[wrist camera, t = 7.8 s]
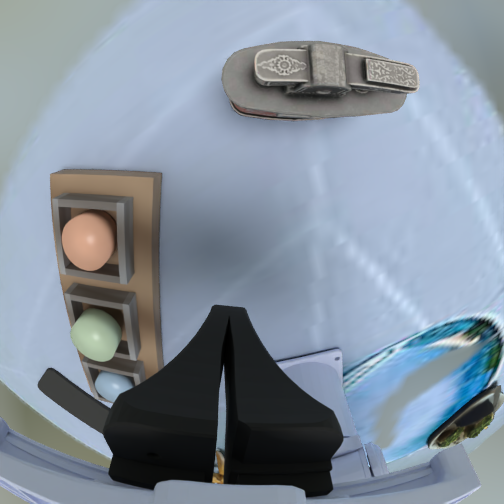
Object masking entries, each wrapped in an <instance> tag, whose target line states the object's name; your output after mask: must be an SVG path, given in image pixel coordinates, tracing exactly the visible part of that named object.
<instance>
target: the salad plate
mask: <svg viewBox="0 0 504 504" xmlns="http://www.w3.org/2000/svg"><path fill="white" fill-rule="evenodd" d="M500 392H501V385H500V386H497V387H495V388H493V389H490V390H486V391H484V392H482V393H480V394H479V395H477V396H476V397H474V398H473V399H471V400H470V401H469V402H468V403H466V404H465V405H464V406H463V407H462V408H461V409H459V410H458V411H457V412H456V413H455V414H454V415H453V416H451V417H450V418H449V419H448V420H447V421H446V422H444V423H443V424H442V425H441V426H440V427H439V428H438V429H437V430H436V431H435V432H434V433H433V434H432V435H431V437H430V439H429V441H428V448H429V449H440V448H450V447H453V446H455V445H457V444H459V443H460V442H462V441H464V440H465V439H466V438H475V437H476V436H478V434H480V432H481V431H482V430H483V429H487V428H488V427H487V426H488V425H490V423H491V422H492V421H493V419H494V415H495V412H496V411H497V410H498V409H499V408H500V407H501V405H502V404H503V402H504V394H503V393H500Z"/></svg>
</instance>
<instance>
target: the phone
mask: <svg viewBox="0 0 504 504" xmlns="http://www.w3.org/2000/svg"><path fill="white" fill-rule="evenodd" d="M38 388H39V389H40V390H41V391H42V392H43V393H44V394H45V395H46V396H48V397H49V398H50V399H52V400H53V401H54V402H56V403H57V404H58V405H60V406H61V407H62V408H64V409H65V410H67V411H68V412H69V413H71V414H72V415H74V416H75V417H77V418H78V419H80V420H81V421H83V422H84V423H86V424H87V425H89V426H90V427H92V428H94V429H95V430H97V431H98V432H100V433H102V434H103V432H102V431H103V428H104V425H105V422H106V419H107V416H108V413H109V411H110V408H109V407H107V406H105V405H104V404H102V403H101V402H99V401H98V400H96V399H95V398H93V397H92V396H91V395H89V394H88V393H86V392H85V391H83V390H82V389H81V388H79V387H78V386H76V385H75V384H74V383H72V382H71V381H70V380H68V379H67V378H66V377H64V376H63V375H62V374H61V373H59V372H58V371H57V370H55V369H53V368H48V369H47V371H46V372H45V373H44V375H43V376H42V378H41V380H40V381H39V383H38Z"/></svg>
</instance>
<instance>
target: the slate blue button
mask: <svg viewBox="0 0 504 504" xmlns="http://www.w3.org/2000/svg"><path fill="white" fill-rule="evenodd" d="M134 386H136V385H135V381H134V377H131V376H126V375H121V374H117V373H112V372H108V371H104V370H101V371H100V373H99V375H98V377H97V379H96V382H95V388H96V390H97V391H98V393H99V394H100V395H101V396H103V397H104V398H105V399H107V400H109V401H111V402H115V400H116V399H117V397H118V395H119V394H120V393H123V392H125V391H127V390H129V389H131V388H133V387H134Z"/></svg>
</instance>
